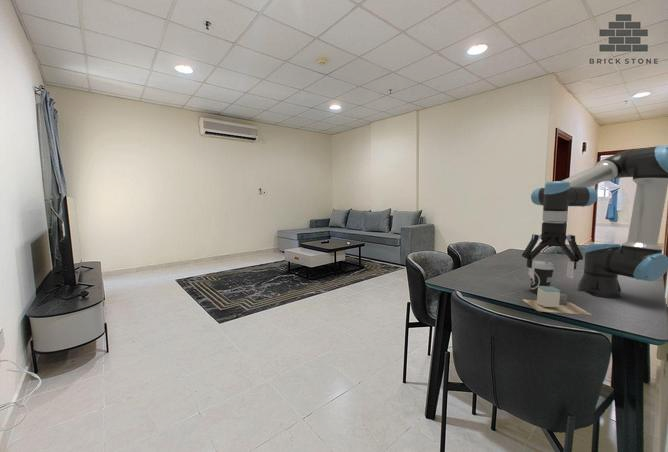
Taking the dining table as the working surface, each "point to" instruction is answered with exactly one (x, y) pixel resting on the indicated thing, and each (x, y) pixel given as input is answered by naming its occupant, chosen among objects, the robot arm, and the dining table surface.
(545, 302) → the white and green block
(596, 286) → the robot arm
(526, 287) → the dining table surface
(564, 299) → the post short
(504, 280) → the dining table surface
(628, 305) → the dining table surface
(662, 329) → the dining table surface
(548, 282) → the coffee cup
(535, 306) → the board
